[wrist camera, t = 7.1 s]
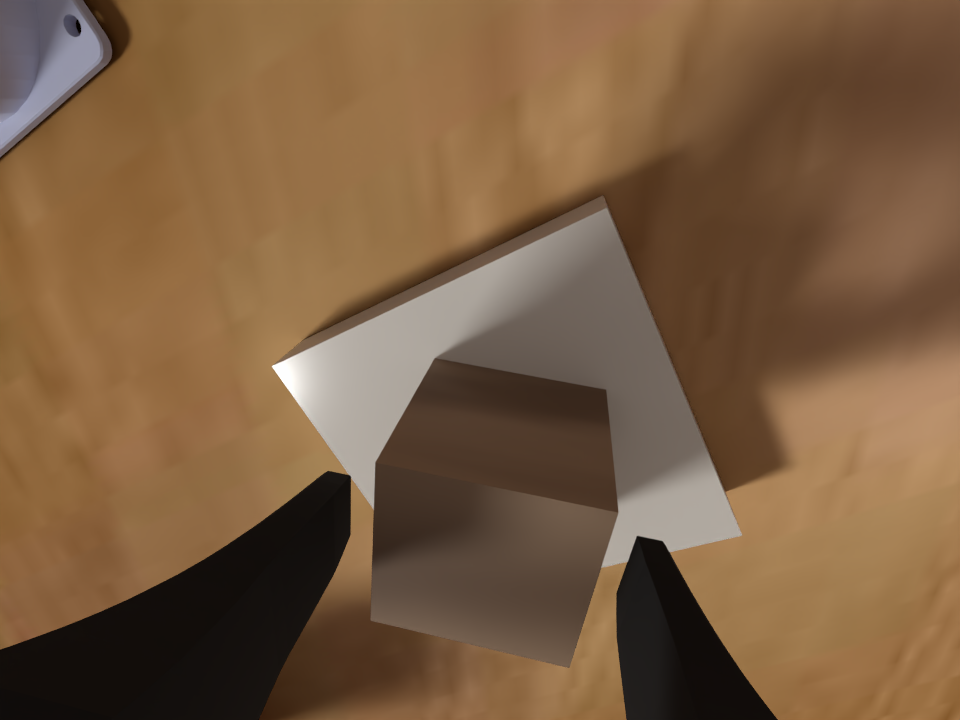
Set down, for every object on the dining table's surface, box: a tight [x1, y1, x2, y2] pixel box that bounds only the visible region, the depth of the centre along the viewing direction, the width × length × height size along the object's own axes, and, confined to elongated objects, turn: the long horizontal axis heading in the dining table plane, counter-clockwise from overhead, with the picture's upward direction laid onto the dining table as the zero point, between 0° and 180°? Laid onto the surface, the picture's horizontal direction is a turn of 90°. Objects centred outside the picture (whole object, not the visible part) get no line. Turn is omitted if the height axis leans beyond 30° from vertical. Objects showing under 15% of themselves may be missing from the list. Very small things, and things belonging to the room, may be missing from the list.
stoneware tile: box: [272, 195, 742, 568], centre depth 17 cm, size 11×11×2 cm
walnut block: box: [371, 358, 619, 668], centre depth 14 cm, size 5×5×5 cm
